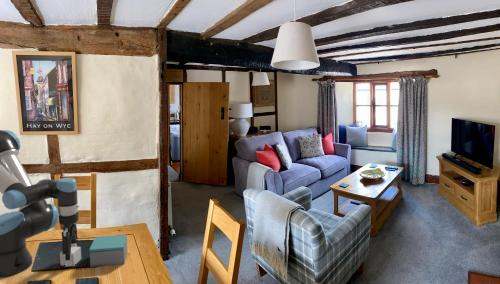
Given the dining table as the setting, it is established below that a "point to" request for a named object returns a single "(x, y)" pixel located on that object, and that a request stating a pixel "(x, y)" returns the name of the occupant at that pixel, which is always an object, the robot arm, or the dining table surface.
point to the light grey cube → (75, 256)
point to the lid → (108, 243)
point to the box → (108, 257)
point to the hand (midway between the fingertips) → (71, 261)
